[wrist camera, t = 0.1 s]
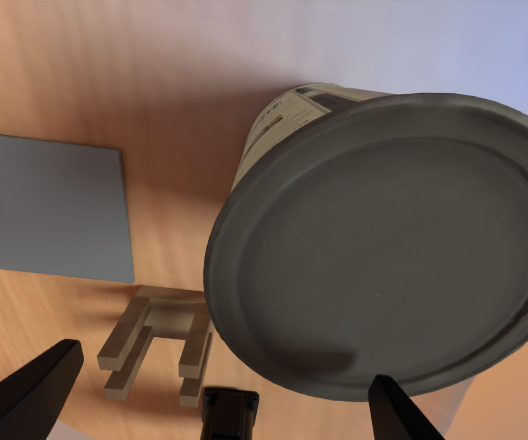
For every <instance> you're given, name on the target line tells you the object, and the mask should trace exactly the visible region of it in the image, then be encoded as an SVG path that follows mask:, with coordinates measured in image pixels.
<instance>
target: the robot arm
mask: <svg viewBox="0 0 528 440" xmlns="http://www.w3.org/2000/svg"><path fill="white" fill-rule="evenodd" d="M83 362H84V356H83V352H82V347H81V343H80V341H79V340H74V339H64V340H61V341H60V342H58V343H57V344H55V345H54V346H52V347H51V348H49V349H48V350H46V351H45V352H43V353H42V354H41V355H39V356H38V357H36V358H35V359H33V360H32V361H30V362H29V363H27V364H26V365H24V366H23V367H21V368H20V369H18V370H17V371H15V372H14V373H12V374H11V375H9V376H8V377H6V378H5V379H3V380H2V381H1V382H0V440H46V438H47V437H48V435H49V433H50V432H51V430H52V428H53V426H54V424H55V422H56V420H57V418H58V416H59V414H60V412H61V410H62V408H63V406H64V404H65V402H66V400H67V397H68V395H69V393H70V391H71V389H72V387H73V385H74V383H75V380H76V378H77V376H78V374H79V372H80V370H81V368H82V365H83ZM368 401H369V407H370V413H371V420H372V426H373V432H374V438H375V440H445V439H444V438H443V436H442V435H441V434H440V433H439V432H438V431H437V429H436V428H435V427H434V426H433V425H432V423H431V422H430V421H429V420H428V419H427V418H426V416H425V415H424V414H423V413H422V412H421V411H420V409H419V408H418V407H417V406H416V405H415V404H414V402H413V401H412V400H411V399H410V398H409V396H408V395H407V394H406V393H405V392H404V391H403V389H402V388H401V387H400V386H399V385H398V384H397V382H396V381H395V380H394V379H393V378H392V377H391V376H389V375H383V374H377V375H376V376H375V378H374V380H373V382H372V384H371V385H370V387H369V390H368ZM258 404H259V394H257V393H249V392H238V391H227V390H217V389H205V390H204V393H203V411H202V422H203V426H202V432H201V437H200V440H252V430H253V427H254V424H255V419H256V414H257V409H258Z"/></svg>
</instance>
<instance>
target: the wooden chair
mask: <svg viewBox="0 0 528 440" xmlns="http://www.w3.org/2000/svg"><path fill="white" fill-rule="evenodd" d="M214 329H215V327H214V325H213V322H212V320H211V317H210V315H209V312H208V308H207V304H206V300H205V293H204V292H201V291H191V290H182V289H173V288H164V287H154V286H145V285H141V286H140V287H139V289H138V291H137V292H136V294H135V296H134V297H133V299H132V300H131V302H130V304H129V305H128V307H127V308H126V310H125V312H124V313H123V315H122V317H121V318H120V320H119V321H118V323H117V325H116V326H115V328H114V330H113V331H112V333H111V334H110V336H109V338H108V339H107V341H106V342H105V344H104V346H103V347H102V349H101V351H100V352H99V354H98V355H97V359H98V363H99V368H100V369H102V370H112V371H113V372H112V374H111V376H110V378H109V380H108V382H107V384H106V385H105V387H104V390H105V395H106V399H108V400H119V401H125V400H126V397H127V395H128V393H129V391H130V388H131V386H132V384H133V382H134V379H135V377H136V375H137V373H138V371H139V368H140V366H141V364H142V362H143V359H144V357H145V355H146V353H147V350H148V348H149V346H150V344H151V341H152V339H153V337H160V338H170V339H180V340H186V343H185V346H184V349H183V352H182V355H181V358H180V361H179V377H184V380H183V384H182V387H181V391H180V394H179V405H180V406H185V407H195V408H198V403H199V399H200V394H201V390H202V385H203V381H204V376H205V371H206V367H207V362H208V358H209V353H210V349H211V344H212V339H213V335H214Z"/></svg>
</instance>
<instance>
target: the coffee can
mask: <svg viewBox="0 0 528 440" xmlns="http://www.w3.org/2000/svg"><path fill="white" fill-rule="evenodd" d="M203 284H204V293H205V300H206V304H207V308H208V312H209V315H210V317H211V320H212V322H213V325H214V327H215V329H216V330H217V332H218V333H219V335H220V337H221V339H222V340H223V341H224V342H225V343H226V345H227V346H228V347H229V349H230V350H231V351H232V352H233V353H234V354H235V355H236V356H237V357H238V358H239V359H240V360H241V361H242V362H243V363H245V364H246V365H247V366H248V367H249V368H251V369H252V370H253V371H255V372H256V373H258V374H259V375H261V376H262V377H264V378H265V379H267V380H269V381H271V382H272V383H274V384H277V385H279V386H282V387H284V388H286V389H289V390H292V391H295V392H298V393H301V394H305V395H308V396H312V397H317V398H323V399H328V400H334V401H348V402H369V401H368V390H369V387H370V385H371V384H372V382H373V380H374V378H375V376H376V375H377V374H383V375H389V376H391V377H392V378H393V379H394V380H395V381H396V382H397V384H398V385H399V386H400V387H401V388H402V389H403V391H404V392H405V393H406V394H407V395H408V396H409V397H412V396H417V395H421V394H426V393H430V392H434V391H437V390H440V389H443V388H446V387H449V386H452V385H454V384H457V383H459V382H461V381H464V380H466V379H468V378H471V377H473V376H475V375H477V374H479V373H481V372H483V371H486V370H487V369H489V368H491V367H492V366H494V365H496V364H498V363H499V362H501V361H502V360H504V359H505V358H507V357H508V356H510V355H511V354H513V353H514V352H516V351H517V350H519V349H520V348H521V347H522V346H523V345H524V344H525V343H526V342H528V115H525V114H523V113H522V112H520V111H518V110H516V109H513V108H511V107H508V106H506V105H503V104H501V103H498V102H495V101H492V100H487V99H483V98H479V97H475V96H469V95H462V94H455V93H414V94H399V95H397V94H390V93H383V92H375V91H368V90H361V89H354V88H344V87H342V86H339V85H334V84H325V83H315V84H307V85H303V86H299V87H296V88H293V89H291V90H288V91H286V92H284V93H283V94H281V95H279V96H277V97H276V98H275V99H274V100H273V101H271V102H270V103H269V104H268V105H267V106H266V107H265V108H264V109H263V111H262V112H261V113H260V114H259V116H258V117H257V118H256V120H255V122H254V123H253V125H252V127H251V129H250V131H249V134H248V136H247V139H246V144H245V148H244V152H243V155H242V159H241V162H240V165H239V168H238V171H237V174H236V177H235V180H234V183H233V186H232V189H231V192H230V195H229V197H228V198H227V200H226V202H225V204H224V205H223V207H222V209H221V211H220V213H219V215H218V217H217V218H216V220H215V223H214V226H213V228H212V231H211V234H210V237H209V240H208V244H207V247H206V253H205V259H204V269H203Z"/></svg>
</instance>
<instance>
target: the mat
mask: <svg viewBox="0 0 528 440" xmlns="http://www.w3.org/2000/svg"><path fill="white" fill-rule="evenodd" d="M0 269H4V270H13V271H23V272H32V273H41V274H50V275H60V276H69V277H78V278H87V279H97V280H106V281H115V282H124V283H134V281H135V278H134V268H133V259H132V250H131V241H130V232H129V222H128V213H127V204H126V195H125V186H124V176H123V167H122V158H121V150H119V149H111V148H103V147H95V146H87V145H79V144H71V143H63V142H55V141H48V140H40V139H32V138H24V137H16V136H8V135H0Z"/></svg>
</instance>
